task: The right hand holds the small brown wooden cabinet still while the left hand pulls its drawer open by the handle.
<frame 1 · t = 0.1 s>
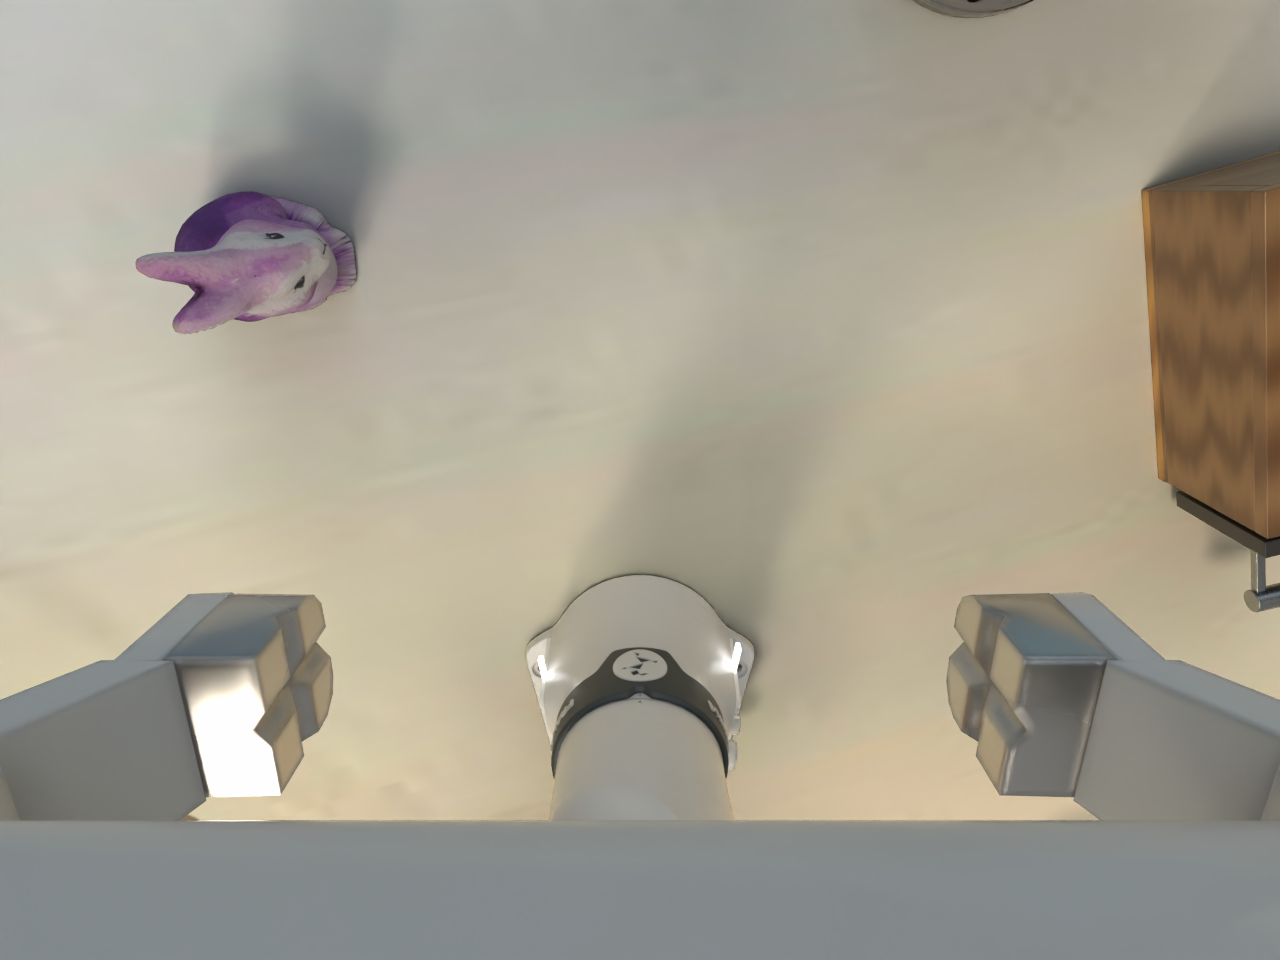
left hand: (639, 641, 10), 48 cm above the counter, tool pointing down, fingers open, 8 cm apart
cabinet: (1224, 323, 56), on the counter
figurine: (293, 251, 55), on the counter
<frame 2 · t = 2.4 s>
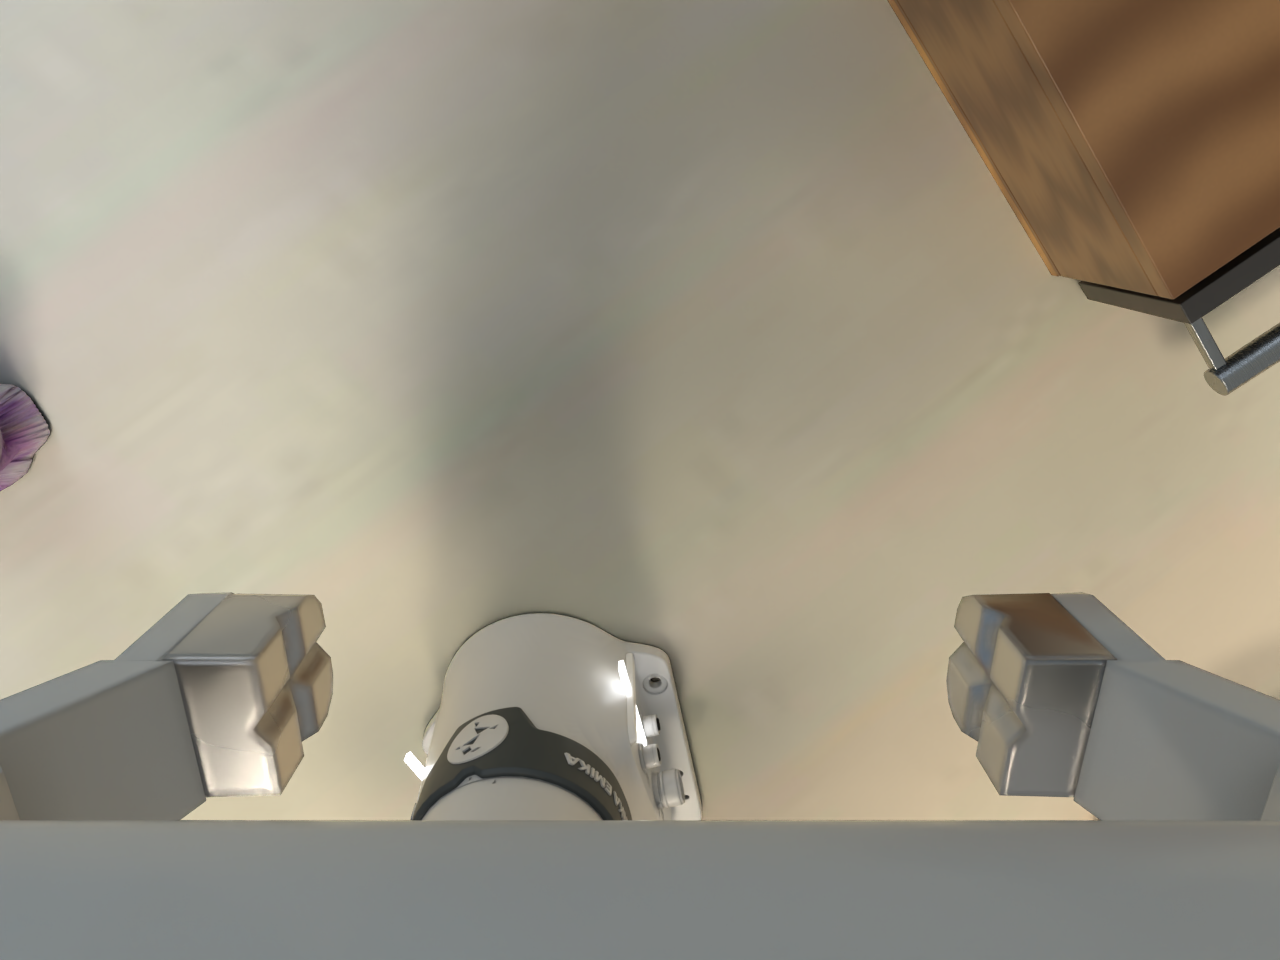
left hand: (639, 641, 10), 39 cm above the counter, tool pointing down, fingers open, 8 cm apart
cabinet: (1041, 50, 42), on the counter
drawer: (1152, 133, 38), point 6 cm above the counter, slide at 0.9 cm
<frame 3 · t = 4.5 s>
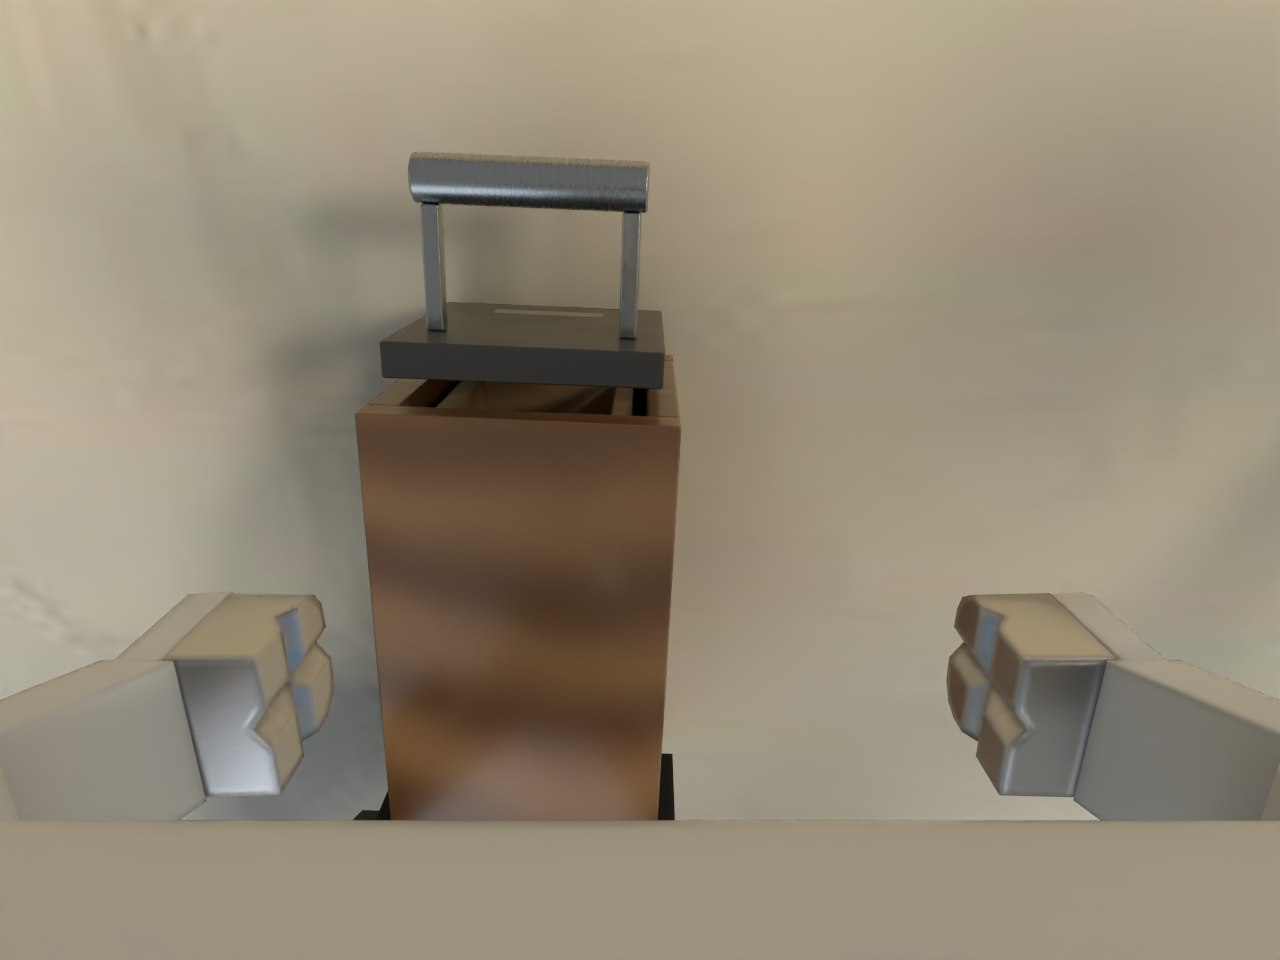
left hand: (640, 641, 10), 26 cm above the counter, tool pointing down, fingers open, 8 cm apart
cabinet: (556, 566, 39), on the counter, touching right hand
drawer: (541, 503, 32), point 6 cm above the counter, slide at 0.9 cm
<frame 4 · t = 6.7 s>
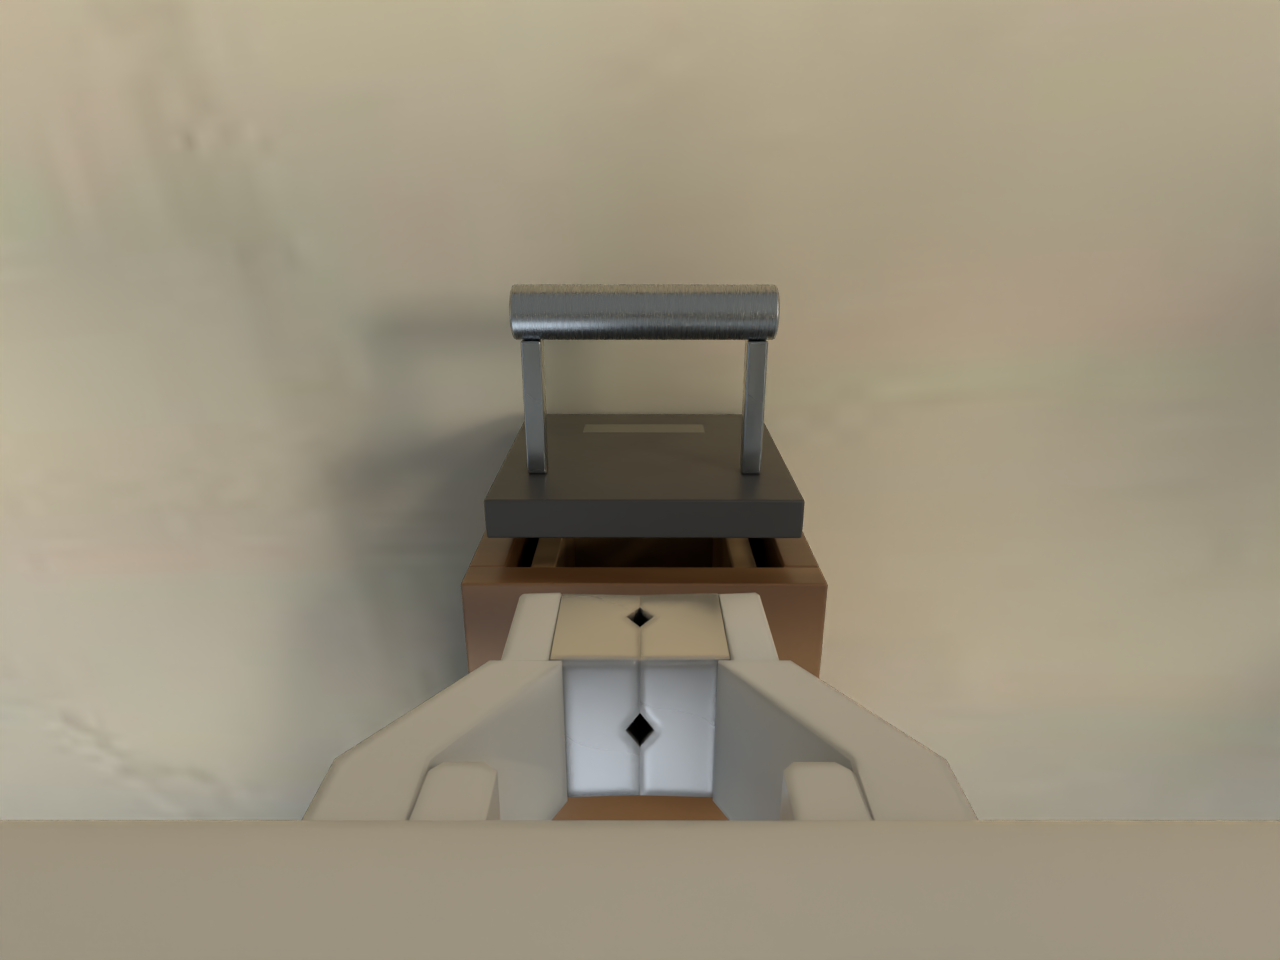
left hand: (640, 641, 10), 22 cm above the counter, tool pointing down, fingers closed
cabinet: (643, 678, 36), on the counter, touching right hand
drawer: (643, 636, 29), point 6 cm above the counter, slide at 0.9 cm
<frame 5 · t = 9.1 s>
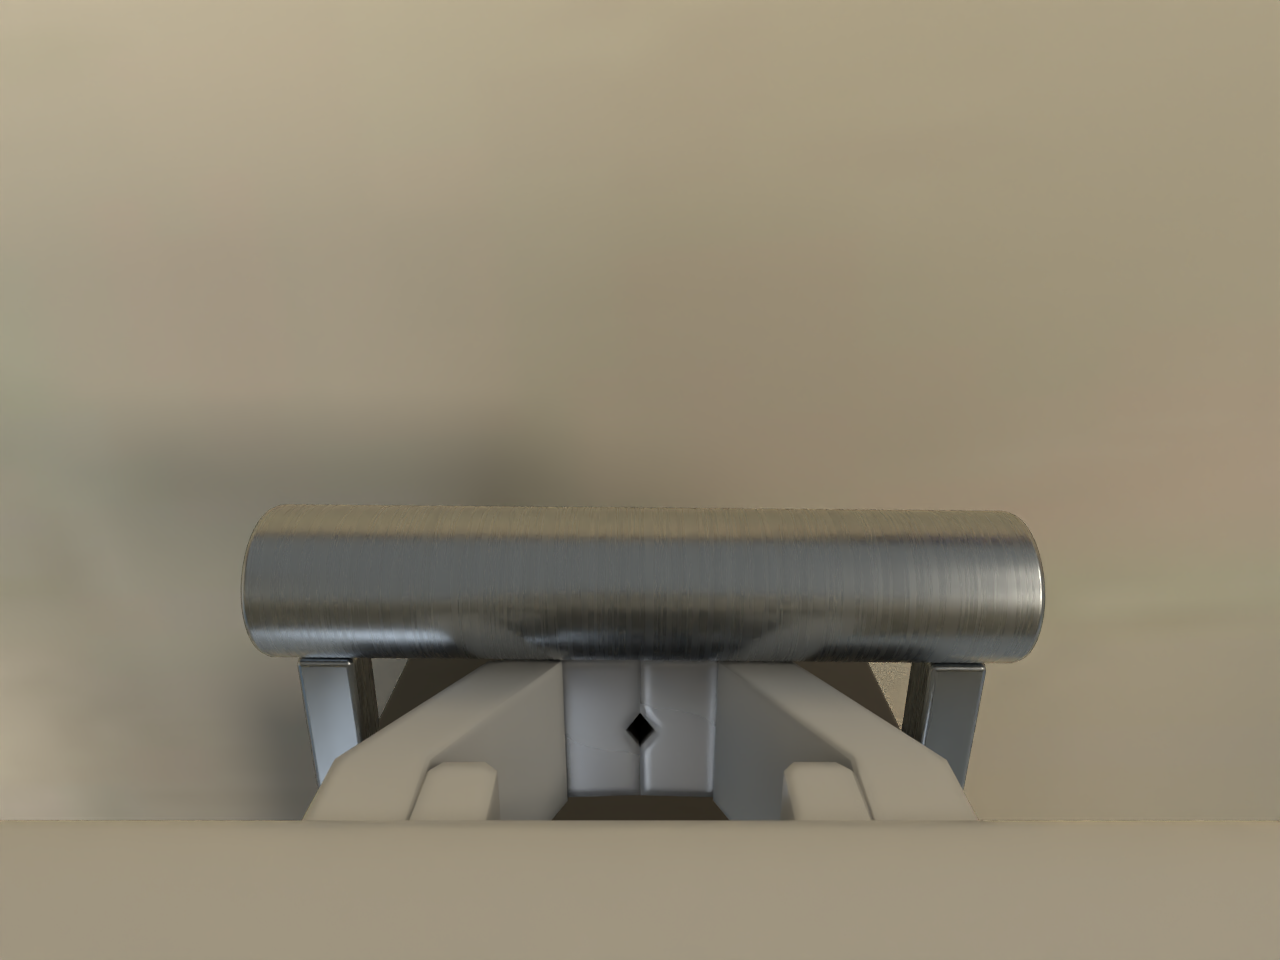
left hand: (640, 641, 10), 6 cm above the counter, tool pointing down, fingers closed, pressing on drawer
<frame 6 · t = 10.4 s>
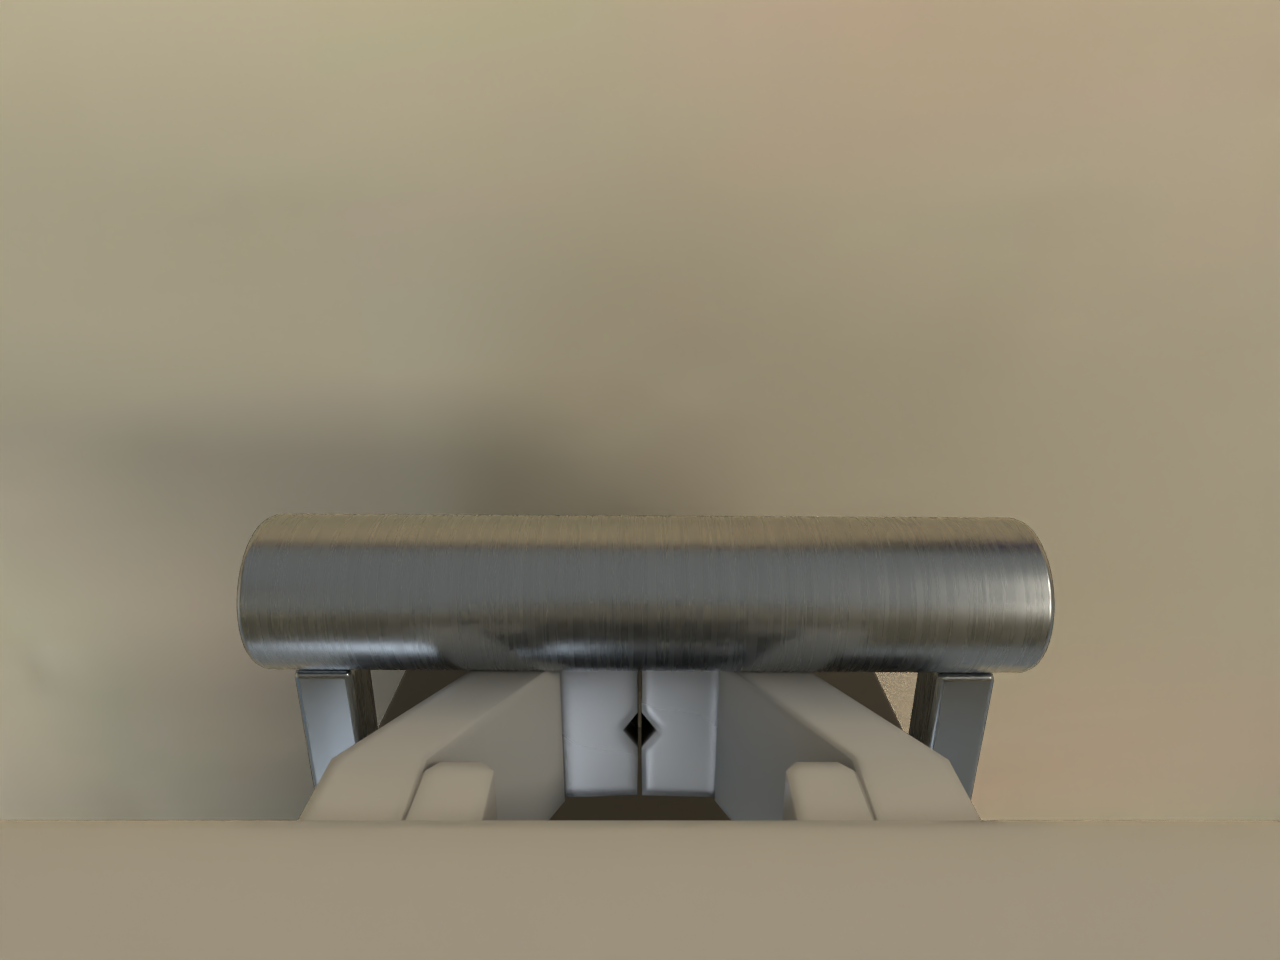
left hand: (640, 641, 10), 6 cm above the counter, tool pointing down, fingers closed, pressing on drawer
when the right hand's fingers open (6 cm above the counter, at t = 12.2 s): cabinet stays where it is, on the counter.
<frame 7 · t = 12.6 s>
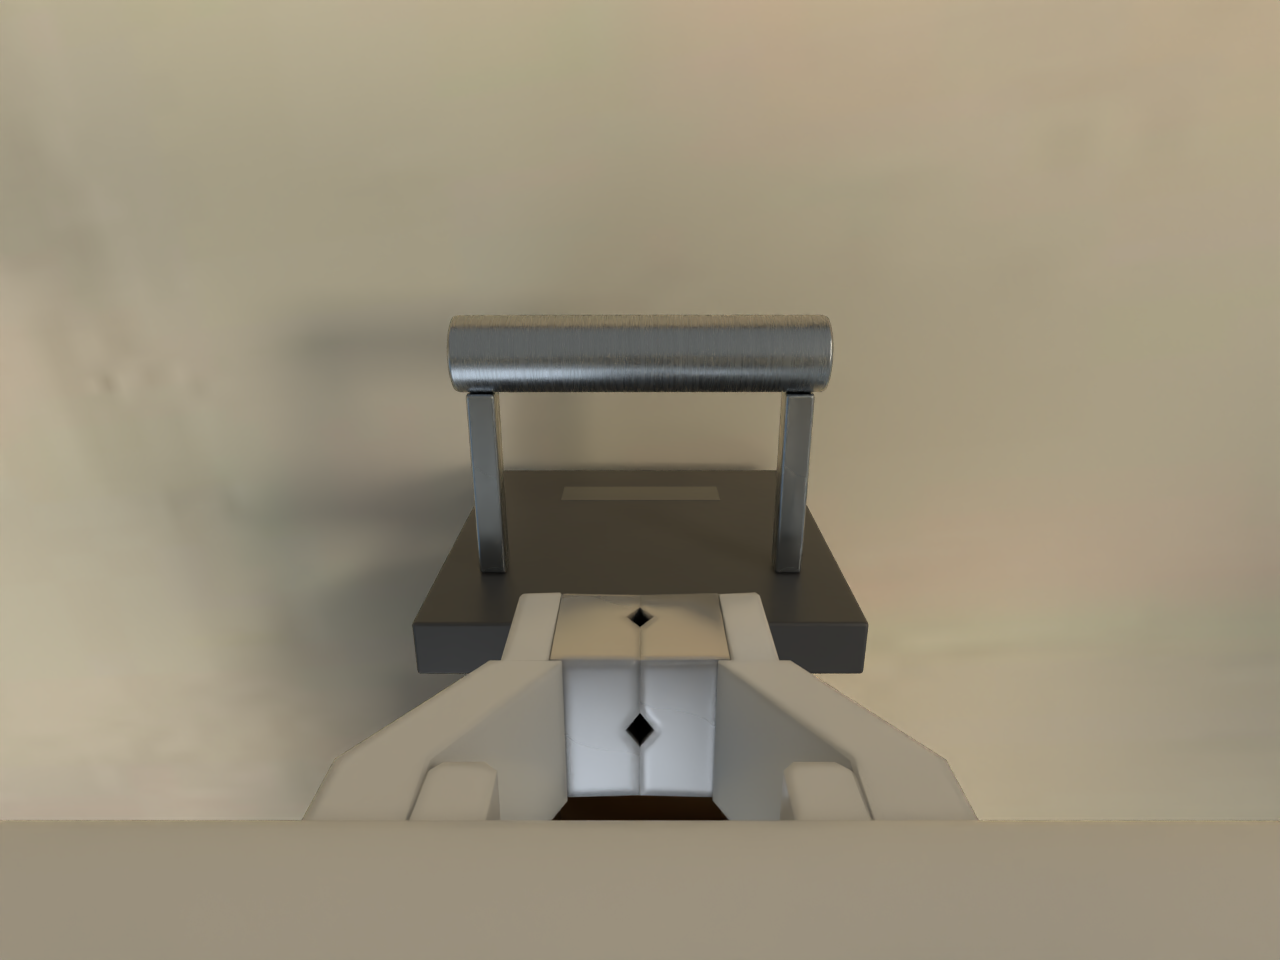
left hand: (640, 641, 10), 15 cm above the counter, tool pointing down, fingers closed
drawer: (640, 762, 22), point 6 cm above the counter, slide at 8.1 cm
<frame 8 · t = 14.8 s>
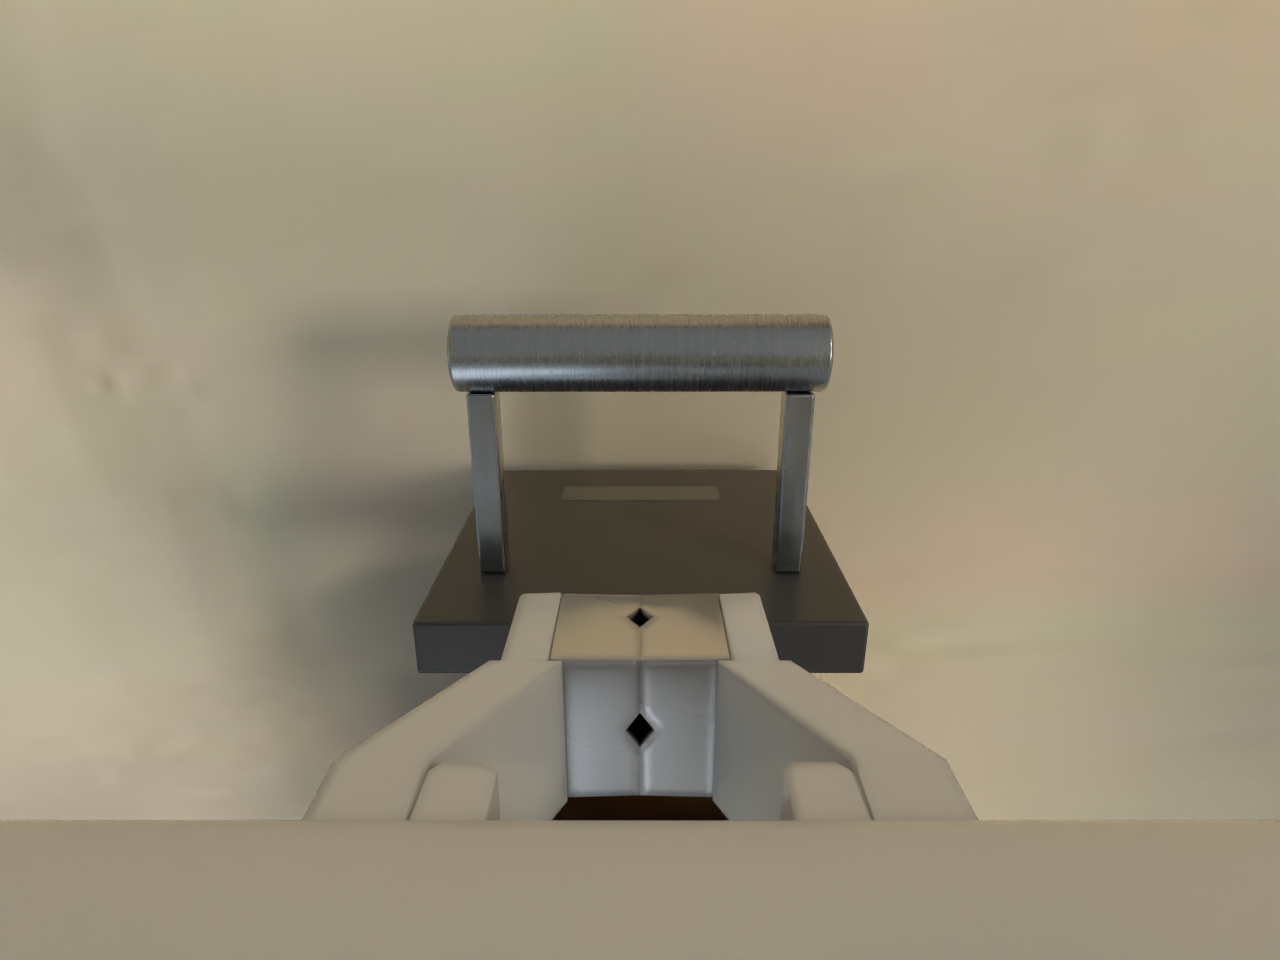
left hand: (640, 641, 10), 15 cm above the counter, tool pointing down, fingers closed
drawer: (640, 762, 22), point 6 cm above the counter, slide at 8.1 cm
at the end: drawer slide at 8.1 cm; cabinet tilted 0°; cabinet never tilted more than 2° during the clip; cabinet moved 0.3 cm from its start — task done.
